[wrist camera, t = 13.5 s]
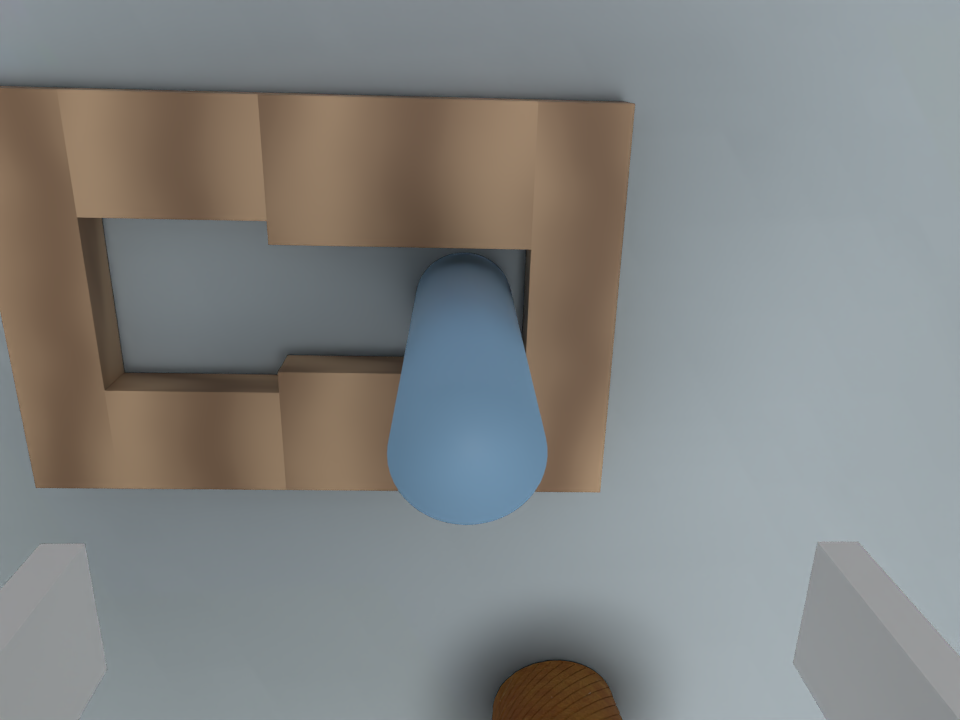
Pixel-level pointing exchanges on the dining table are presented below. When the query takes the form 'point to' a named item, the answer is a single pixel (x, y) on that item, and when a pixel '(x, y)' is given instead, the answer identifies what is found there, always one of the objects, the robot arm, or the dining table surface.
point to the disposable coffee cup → (555, 694)
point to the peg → (465, 399)
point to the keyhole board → (296, 221)
